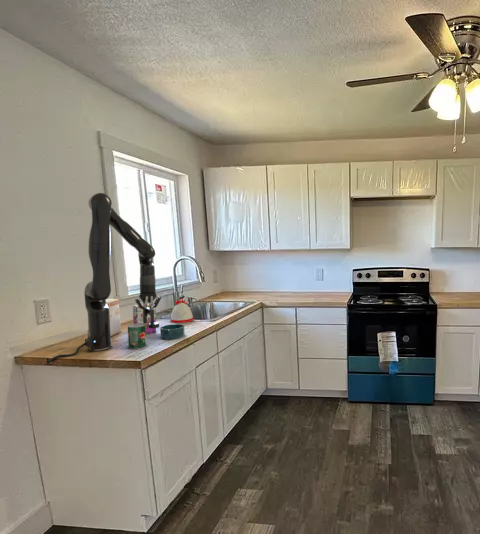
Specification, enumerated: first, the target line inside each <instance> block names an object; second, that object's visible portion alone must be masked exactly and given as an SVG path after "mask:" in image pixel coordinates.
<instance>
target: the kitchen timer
mask: <svg viewBox="0 0 480 534" xmlns="http://www.w3.org/2000/svg"><path fill="white" fill-rule="evenodd" d="M178 299H179V300H178ZM174 303H175V306H174V307H173V308H172V310H171V315H170V322H171V323H172V324H181V323H182V324H183V323H190V322H192V321H193V320H194V316H193V313H192V310H191V308H190V306H189V305H188V300H186V299H184V298H183V297H181V298H176V300H174Z"/></svg>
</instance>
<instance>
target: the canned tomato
mask: <svg viewBox="0 0 480 534" xmlns="http://www.w3.org/2000/svg"><path fill="white" fill-rule="evenodd" d="M146 338H147V337H146V334H145V324H143V323H137V324H133V323H132V324H128V325H127V343H128V349H129V350H140V349H144V348H146V347H147V343H146V342H147V339H146Z"/></svg>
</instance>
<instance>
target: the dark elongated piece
mask: <svg viewBox="0 0 480 534" xmlns="http://www.w3.org/2000/svg"><path fill="white" fill-rule="evenodd" d="M147 313H148V314H150V322H151V323H149V328H156V329H159V328H160V322H157V321H156V322H154V309H151V308H149V307H147ZM143 323H147V317H146V316H145V315H144V312H143Z"/></svg>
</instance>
